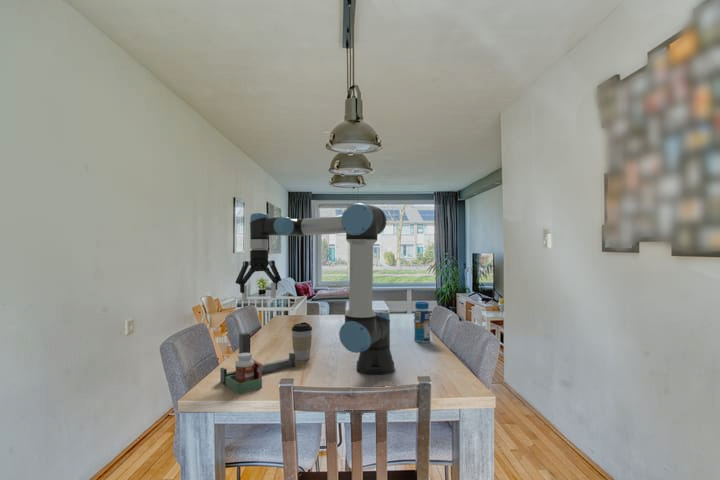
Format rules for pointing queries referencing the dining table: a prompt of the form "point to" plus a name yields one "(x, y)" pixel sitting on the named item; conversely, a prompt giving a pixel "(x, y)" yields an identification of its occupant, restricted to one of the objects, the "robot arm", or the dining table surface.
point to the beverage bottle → (422, 322)
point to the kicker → (245, 348)
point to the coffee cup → (302, 340)
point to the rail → (265, 367)
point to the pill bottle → (244, 368)
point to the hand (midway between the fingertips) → (259, 299)
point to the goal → (242, 384)
